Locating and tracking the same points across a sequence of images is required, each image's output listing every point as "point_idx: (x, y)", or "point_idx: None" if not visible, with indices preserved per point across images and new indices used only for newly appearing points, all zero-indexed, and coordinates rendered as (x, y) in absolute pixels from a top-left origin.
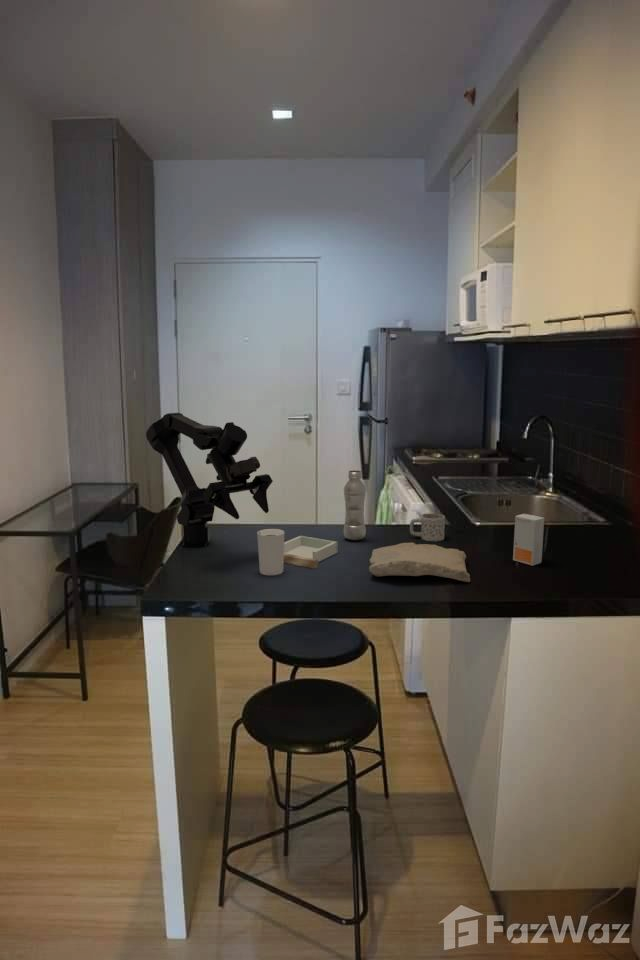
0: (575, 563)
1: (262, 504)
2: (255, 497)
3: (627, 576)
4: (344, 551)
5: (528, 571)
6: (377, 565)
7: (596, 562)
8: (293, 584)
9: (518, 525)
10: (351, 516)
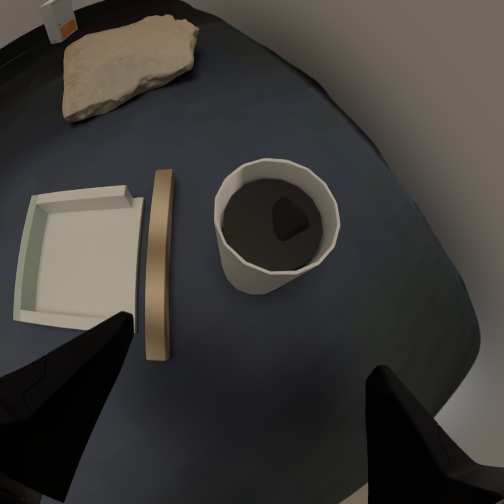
0: None
1: (98, 380)
2: (62, 476)
3: (97, 2)
4: None
5: (96, 23)
6: (191, 51)
7: None
8: None
9: (56, 8)
10: None
